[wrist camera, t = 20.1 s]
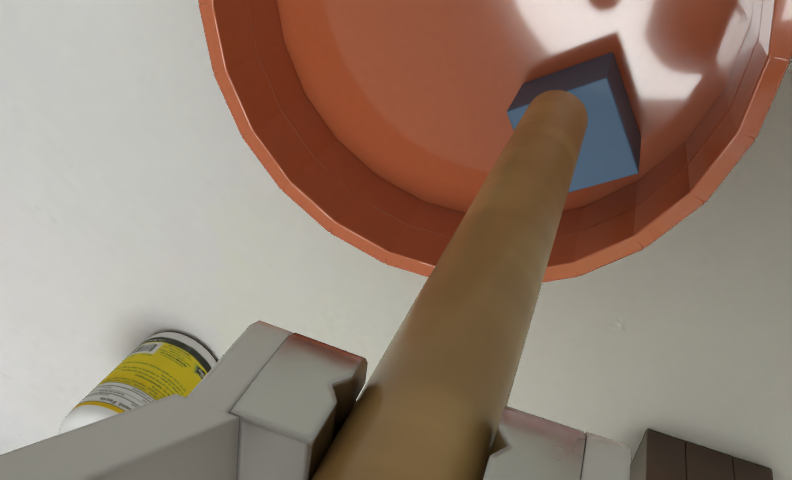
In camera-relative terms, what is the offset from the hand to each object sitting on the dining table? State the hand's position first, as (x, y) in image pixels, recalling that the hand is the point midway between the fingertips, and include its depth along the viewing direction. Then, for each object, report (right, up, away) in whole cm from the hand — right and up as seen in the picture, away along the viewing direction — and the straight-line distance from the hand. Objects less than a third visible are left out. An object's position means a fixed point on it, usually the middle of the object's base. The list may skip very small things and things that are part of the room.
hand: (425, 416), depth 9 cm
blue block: (+8, +8, +22) cm, 25 cm away
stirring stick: (+4, +6, +12) cm, 14 cm away
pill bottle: (-14, -6, +39) cm, 42 cm away
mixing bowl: (+4, +12, +22) cm, 26 cm away
